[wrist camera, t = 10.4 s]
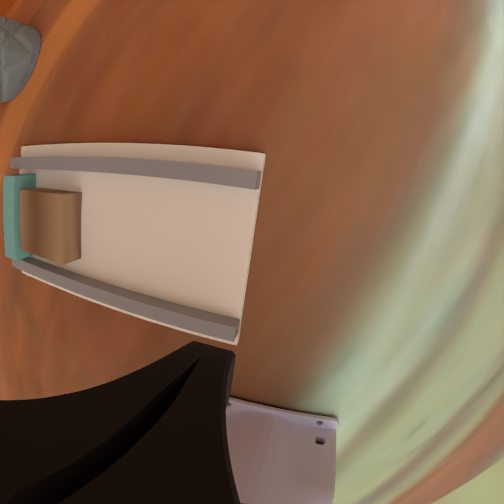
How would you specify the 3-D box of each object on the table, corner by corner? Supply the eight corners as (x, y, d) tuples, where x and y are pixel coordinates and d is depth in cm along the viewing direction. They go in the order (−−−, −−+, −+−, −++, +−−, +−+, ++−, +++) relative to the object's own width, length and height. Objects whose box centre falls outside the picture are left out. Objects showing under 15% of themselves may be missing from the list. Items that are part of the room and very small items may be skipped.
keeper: (82, 192, 19) (63, 194, 17) (81, 258, 20) (64, 265, 18) (36, 187, 20) (19, 189, 18) (36, 244, 21) (20, 249, 19)
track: (265, 154, 16) (255, 149, 14) (238, 341, 20) (226, 366, 17) (25, 146, 20) (1, 146, 17) (25, 271, 23) (3, 280, 20)
